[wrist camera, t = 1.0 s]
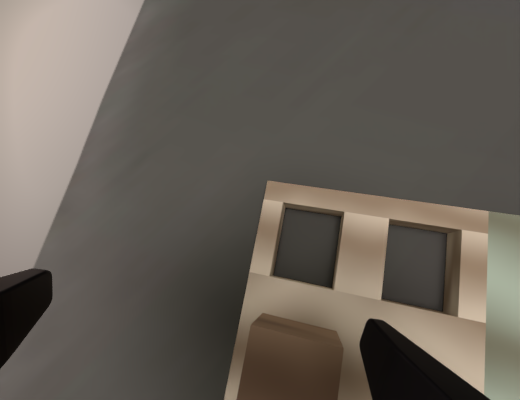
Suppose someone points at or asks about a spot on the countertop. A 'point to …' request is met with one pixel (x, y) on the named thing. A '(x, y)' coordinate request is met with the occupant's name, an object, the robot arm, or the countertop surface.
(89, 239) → the countertop surface
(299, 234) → the countertop surface
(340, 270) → the trap board
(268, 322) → the walnut block
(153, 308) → the countertop surface
